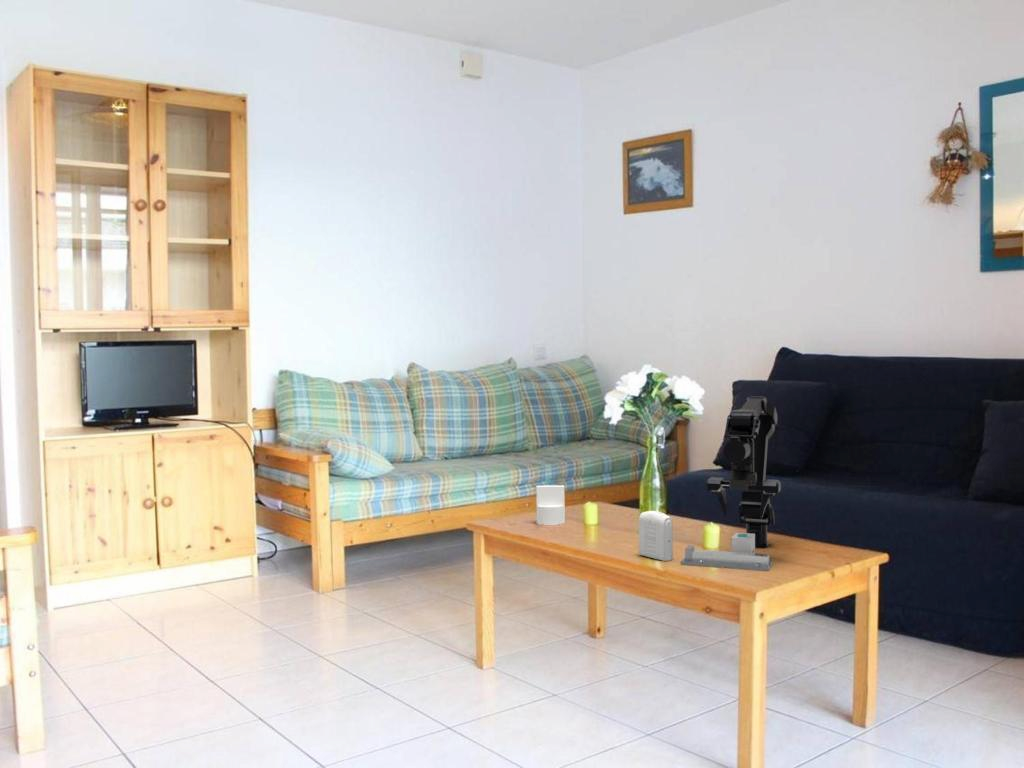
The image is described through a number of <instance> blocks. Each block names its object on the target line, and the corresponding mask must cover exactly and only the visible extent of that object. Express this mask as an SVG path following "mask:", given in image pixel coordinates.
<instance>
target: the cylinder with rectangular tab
mask: <svg viewBox="0 0 1024 768" xmlns="http://www.w3.org/2000/svg"><path fill="white" fill-rule="evenodd" d="M535 487H536V488H535V493H536V494H535V496H536V497H535V499H536V501H535V502H536V504H535V506H536V524H537V523H538V524H544V525H557V524H562V523H565V524H566V518H565V517H566V508H565V507H566V506H565V504H566V503H565V500H566V499H565V498H566V497H565V485H563V484H561V485H560V484H559V485H558V484H557V485H555V484H554V485H551V484H550V485H536V486H535Z"/></svg>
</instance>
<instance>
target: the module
mask: <svg viewBox="0 0 1024 768" xmlns="http://www.w3.org/2000/svg"><path fill="white" fill-rule="evenodd" d="M731 552H742V553H756V547H755V534H750V533H746V532H735V533H734V534H733V535H732V536H731Z"/></svg>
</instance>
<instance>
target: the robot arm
mask: <svg viewBox="0 0 1024 768" xmlns="http://www.w3.org/2000/svg"><path fill="white" fill-rule="evenodd" d="M776 425H778V412H777V408H776V406H775V405H773V404H772V403H770V402H769V401H768V400H767V397H765V396H761V395H760V396H756V395H755V396H752V395H751V396H748V397H747V398H746V401H745V403H744V404H743V406H742V407H741V408H740V409H734V410H731V411H730V412H729V415H727V417H726V425H725V431H724V436H723V437H724V438H726V439H729V438H730V439H729V440H730V441H728V442H726V444H725V445H724V447H723V451H722V454H723V457H724V458H725V460H726V461H727V462H729V463H731V469H730V470H731V471H730V473H729V476H728V480H725V478H724V477H716V476H715V477H713V476H712V477H709V478H708V479H707V480H705V490H706V491H710V494H714V495H715V497H716V498H717V500H718V503H719V505H720V507H721V511H722V513H723V514H722V515H723V516H724V517H725V518H726V517H728V506H727V491H726V489H729V490H730V491H742V492H741V501H739V504H738V516H739V523H740V524H745V526H746V528H745V533H750V534H755V548H768V547H769V545H770V544H771V542H770V541H769V540H768V526H772V525H775V513H774V509H773V506H772V503H770V501H771V500H770V498H771V497H774V496H775V495H776V494H779V493H780V492H781V490H782V489H781V488H782V483H781V481H780V480H779V479H766V473H767V460H768V459H767V458H768V447H769V440H770V438H771V437H772V435H773V434H774V432H775V428H776Z"/></svg>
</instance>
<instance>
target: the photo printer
mask: <svg viewBox="0 0 1024 768" xmlns="http://www.w3.org/2000/svg"><path fill="white" fill-rule="evenodd" d="M638 517H639V518H638V554H639V555H640V556H642V557H643V556H644V557H647V558H652V559H655V560H660V561H662V562H670V561H671V560H672V559H673V558H674V557H673V556H674V521H673V519H672V518H671V517H670V516H669V515H667V514H665V513H663V512H661V511H657V510H647V511H643V512H641V513H640V514H639V516H638Z"/></svg>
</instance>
